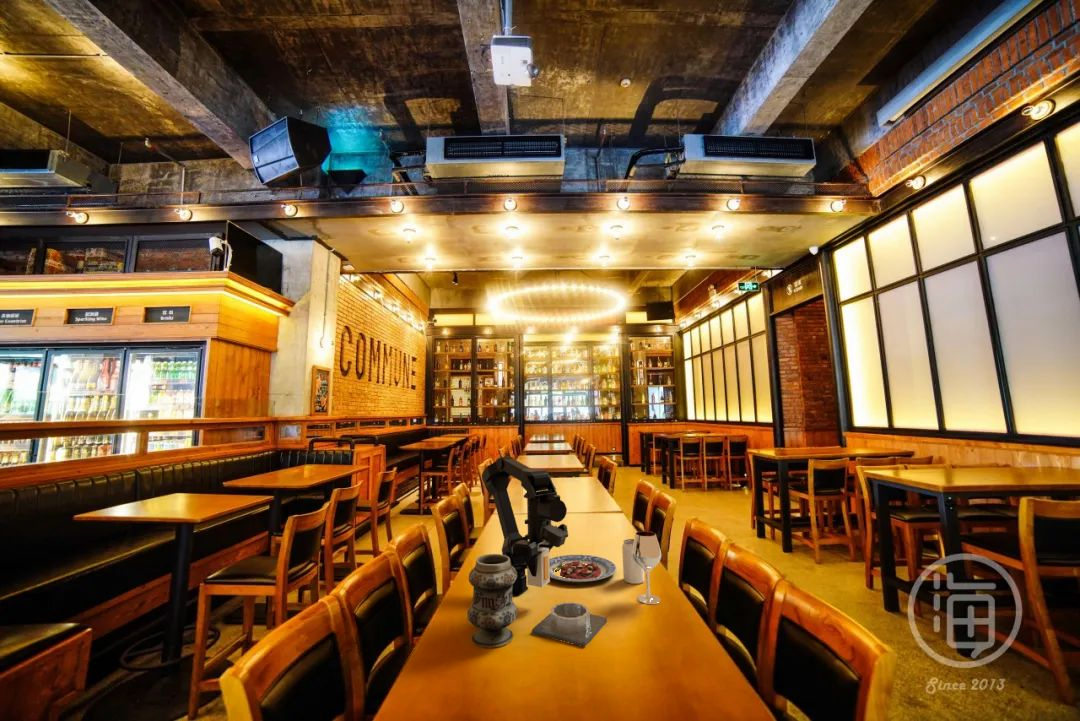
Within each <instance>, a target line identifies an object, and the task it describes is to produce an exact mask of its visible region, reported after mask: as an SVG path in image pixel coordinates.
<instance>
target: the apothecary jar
mask: <svg viewBox="0 0 1080 721" xmlns="http://www.w3.org/2000/svg"><path fill="white" fill-rule="evenodd" d="M516 579H517V572H516V570H515V568H514V567H513V566H512V565H511V563H510V558H509V557H508V556H505V555H502V554H500V553H489V554H484V555H481V556H478V557H477V558H476V559H475V565H474V567H473V568H472V569H471V570H470V572H469V574H468V582H469V583H470V585H471V586H472V587H473V592H472V595H473V596H472V603H471V604H470V606H469V607H468V609H467V614H466V615H467V616H466V617H467V620H468V622H469V623H470V624H471V625H472V626H473V627H475V628H477V629H478V630H476V631H475V632H474V633H473V635H472V637H471V641H472V643H473V644H474V645H475V646H478V647H480V648H485V649H496V648H499V647H503V646H506V645H507V644H509V643H511V642H512V641H513V639H514V633H513V630H511V629H509V628H508V627H509V626H510V625H512V624H513V623H514V622H515V620H516V619H517V617H518V607H517V605H516V603H515V602H514V600H513V595H512V584H513V583H514V582H515V581H516Z"/></svg>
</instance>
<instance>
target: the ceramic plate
mask: <svg viewBox="0 0 1080 721" xmlns="http://www.w3.org/2000/svg"><path fill="white" fill-rule="evenodd" d="M583 563H584V564H583ZM564 564H565V565H564ZM585 564H587V565H585ZM562 565H563V566H562ZM549 566H550V579H554V580H558V581H564V582H570V581H571V582H570V583H572V582H573V583H587V582H594V581H601V580H604V579H607V578H609V577H611V576H613V575H614V574H615V573H616V572H617V565H616V564H615V563H614V562H613V561H611V560H609V559H607V558H606V557H601V556H597V555H590V554H589V555H588V554H565V555H558V556H555V557H551V558H549ZM556 568H557V569H556ZM555 569H556V570H555ZM560 569H561V572H560V576H562V577H559V576H557V575H556V574H554V570H555V572H557V571H559V570H560ZM563 577H565V578H563Z"/></svg>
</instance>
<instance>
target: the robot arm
mask: <svg viewBox="0 0 1080 721" xmlns="http://www.w3.org/2000/svg"><path fill="white" fill-rule="evenodd" d="M510 477H513V478H515V479H516V480H517V481H520V486H521V487H522V488H523V489H524V490H525V491H526V492H525V493H524V495H523V498H524V499H526V501H527V503H526V505H527V509H526V510H527V511H526V512H527V514H526V515H527V516H526V517H527V518H526V519H525V520H524V525H527V534H525V535H524V536H523V535H522V534H520V530H519V526H518V525H517V521H516V517H515V514H514V510H513V507H512V503H511V500H510V496H509V492H508V488H509V484H510ZM481 479H482V482H483V483H484V487H485V489H486V490H487V491H488V492H489V494H490V495H492V497H493V498H492V499H493V502H494V504H495V509H496V512H497V517H498V521H499V525H500V528H501V531H502V535H503V544H502V547H501V553H502V554H501V555H505V556H508V557H509V558H510V563H511V565H512V566H513V567H514V568H515V570H516V572H517V579H516V581H515V582H514V583H513V584H512V596H513V597H514V596H515V597H518V596H520V595H522V594H523V593H525V592H526V591H527V590H529V586H528V583H527V574H526V570H527V566H528V568H529V570H530V572H531V575H532V576H534V577H535V576H536V573H537V562H538V556H539V555H540V554H541V553H542V552H540V551H538V547H544V548H549V553H550V552H551V550H552V549H553V548H554V547H555V548H560V547H561V546H564V545H565V542H566V538H568V537H569V531H568V525H566V524H565V523H561V522H562V521H563V520H564V519H565V517H566V516H567V510H568V509H567V507H566V506H567V505H566V504H565V502H564V501H563V500H562V499H561V495H559V494H558V492H557V490H556V489H557V488H556V486H555V485H554V482H553V481H552V478H551V476H550V474H549V472H548V470H545V469H541V468H531V467H530V466H527V465H526V464H523V463H522V462H520V461H518V460H517V459H515V458H514V457H512V456H500V457H498V458H497V459H496V460H495V461H494V462H492V463H490V464H489V465H487V466H486V468H485V469H484V470H483V472H482V474H481ZM552 522H554V523H561V524H560V525H558V526H557V525H553V524H552Z"/></svg>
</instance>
